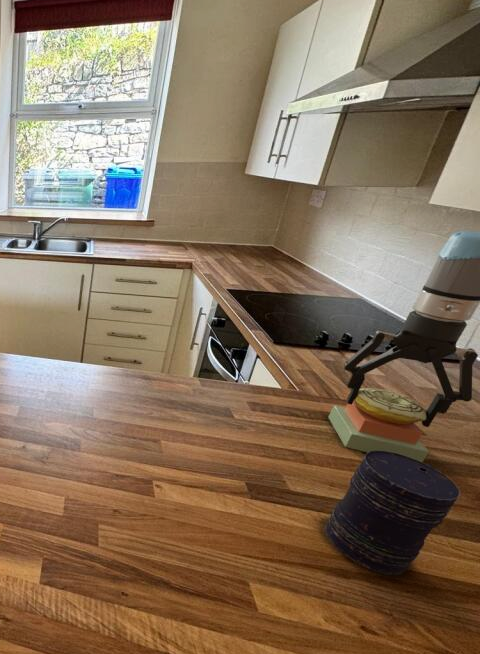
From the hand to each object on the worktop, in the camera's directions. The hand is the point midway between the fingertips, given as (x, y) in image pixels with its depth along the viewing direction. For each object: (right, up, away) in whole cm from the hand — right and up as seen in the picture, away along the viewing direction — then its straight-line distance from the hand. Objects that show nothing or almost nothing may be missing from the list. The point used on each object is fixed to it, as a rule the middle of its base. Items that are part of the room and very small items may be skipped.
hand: (385, 412), depth 85 cm
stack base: (0, -7, +3) cm, 7 cm away
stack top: (0, -3, +2) cm, 4 cm away
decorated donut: (0, 0, 0) cm, 0 cm away
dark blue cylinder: (-26, -17, -21) cm, 38 cm away
